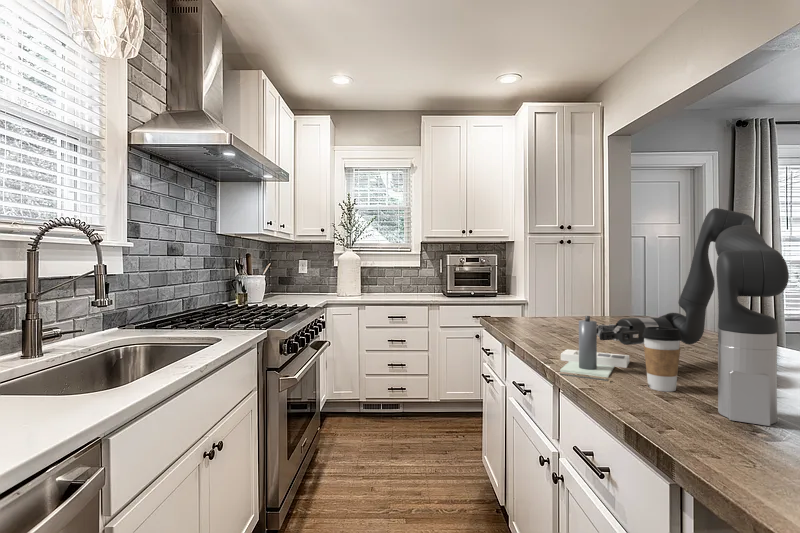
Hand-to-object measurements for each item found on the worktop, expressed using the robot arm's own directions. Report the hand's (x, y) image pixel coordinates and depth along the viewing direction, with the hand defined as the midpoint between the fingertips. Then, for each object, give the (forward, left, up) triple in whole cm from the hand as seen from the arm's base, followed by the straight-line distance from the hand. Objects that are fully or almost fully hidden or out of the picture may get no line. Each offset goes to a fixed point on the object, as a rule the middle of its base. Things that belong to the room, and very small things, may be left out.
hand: (589, 333), depth 122 cm
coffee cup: (-7, -17, -11) cm, 22 cm away
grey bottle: (0, 0, -9) cm, 9 cm away
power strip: (+11, -2, -11) cm, 16 cm away
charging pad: (-1, +1, -11) cm, 11 cm away
